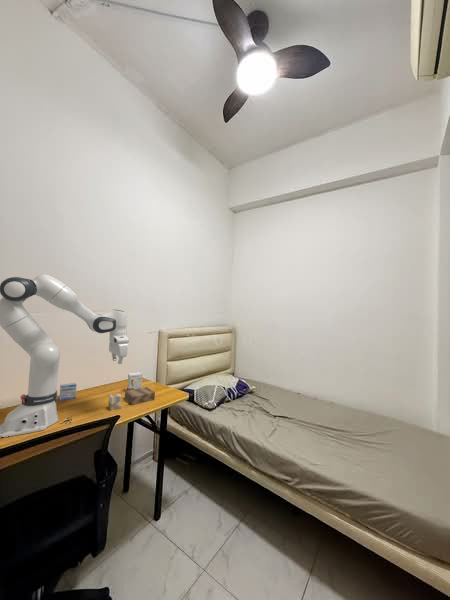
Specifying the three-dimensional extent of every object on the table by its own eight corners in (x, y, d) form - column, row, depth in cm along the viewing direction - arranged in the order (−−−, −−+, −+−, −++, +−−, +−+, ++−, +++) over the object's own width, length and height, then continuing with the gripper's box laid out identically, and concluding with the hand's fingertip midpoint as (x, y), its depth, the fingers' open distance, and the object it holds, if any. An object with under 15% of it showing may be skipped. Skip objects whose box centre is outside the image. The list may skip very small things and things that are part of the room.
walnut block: (131, 406, 138) (132, 397, 138) (124, 399, 147) (125, 391, 147) (154, 400, 147) (154, 392, 148) (146, 394, 156) (146, 386, 156)
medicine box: (60, 401, 139) (61, 386, 140) (59, 398, 143) (60, 384, 143) (75, 398, 144) (76, 384, 145) (74, 396, 148) (75, 382, 148)
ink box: (128, 393, 157) (129, 375, 157) (126, 390, 161) (127, 373, 161) (141, 390, 162) (142, 373, 162) (139, 388, 166) (140, 371, 166)
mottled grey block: (111, 410, 130) (112, 398, 130) (108, 407, 134) (109, 395, 134) (120, 408, 133) (121, 396, 134) (117, 405, 137) (118, 393, 137)
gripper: (106, 336, 140) (105, 359, 140) (118, 340, 125) (117, 366, 125) (117, 335, 145) (116, 358, 144) (130, 339, 130) (129, 365, 129)
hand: (117, 362), depth 135 cm, fingers open, 8 cm apart
